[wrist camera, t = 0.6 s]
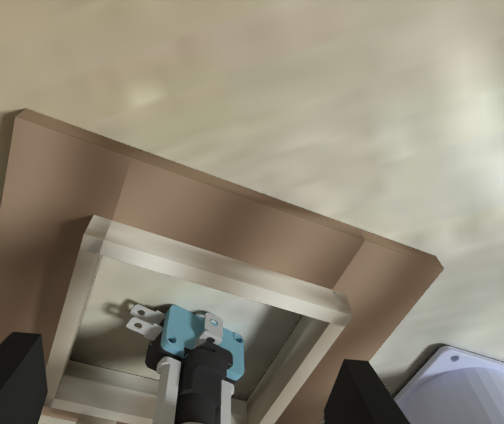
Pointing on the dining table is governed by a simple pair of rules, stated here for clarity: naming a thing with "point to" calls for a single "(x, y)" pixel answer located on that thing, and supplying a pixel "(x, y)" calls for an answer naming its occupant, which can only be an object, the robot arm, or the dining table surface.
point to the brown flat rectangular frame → (186, 269)
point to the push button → (190, 364)
